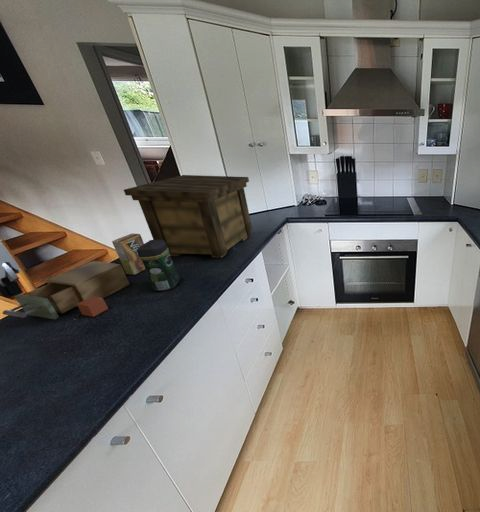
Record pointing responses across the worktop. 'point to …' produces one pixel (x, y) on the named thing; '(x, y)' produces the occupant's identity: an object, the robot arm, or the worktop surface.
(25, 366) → the worktop surface
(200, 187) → the crate
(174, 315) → the worktop surface
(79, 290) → the cabinet
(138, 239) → the candy box
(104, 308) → the block
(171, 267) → the coffee jar
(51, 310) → the drawer
